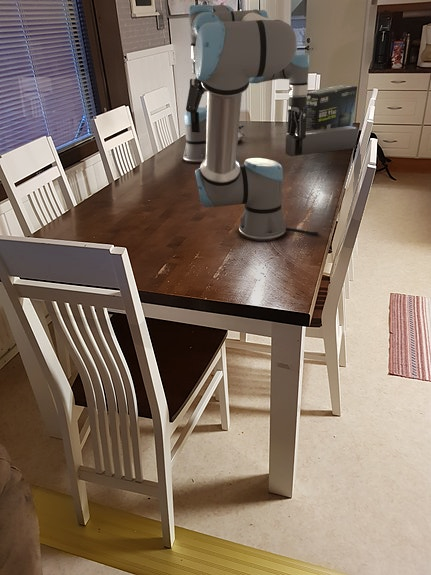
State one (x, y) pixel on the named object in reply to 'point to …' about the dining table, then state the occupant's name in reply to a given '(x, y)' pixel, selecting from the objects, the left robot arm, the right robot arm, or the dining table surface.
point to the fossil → (240, 134)
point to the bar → (323, 140)
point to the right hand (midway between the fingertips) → (206, 128)
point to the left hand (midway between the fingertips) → (295, 152)
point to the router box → (330, 107)
